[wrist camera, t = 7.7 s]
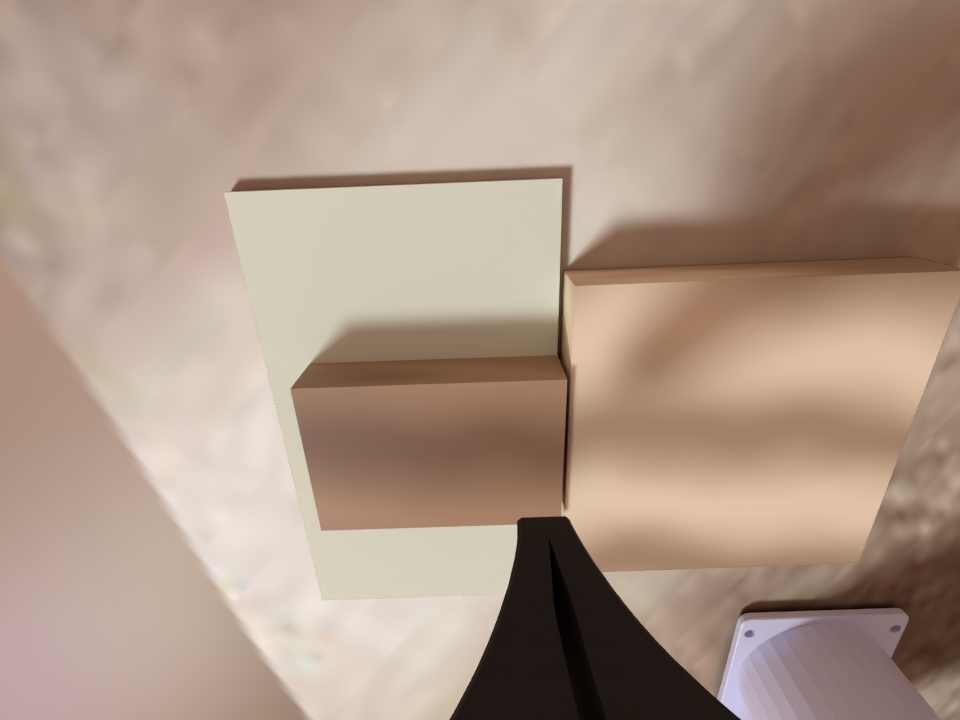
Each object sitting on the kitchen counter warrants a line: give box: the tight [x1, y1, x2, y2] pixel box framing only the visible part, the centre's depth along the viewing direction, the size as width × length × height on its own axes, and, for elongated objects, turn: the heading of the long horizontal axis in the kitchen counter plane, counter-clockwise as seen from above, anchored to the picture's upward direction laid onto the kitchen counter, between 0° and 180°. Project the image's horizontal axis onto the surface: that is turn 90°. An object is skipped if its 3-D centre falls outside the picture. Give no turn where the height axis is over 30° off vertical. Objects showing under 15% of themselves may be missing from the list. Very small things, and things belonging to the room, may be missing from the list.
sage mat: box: [224, 178, 563, 600], centre depth 19 cm, size 18×11×1 cm, turn 2°
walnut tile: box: [290, 355, 567, 531], centre depth 18 cm, size 6×9×2 cm, turn 92°
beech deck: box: [561, 257, 960, 572], centre depth 18 cm, size 12×12×2 cm
